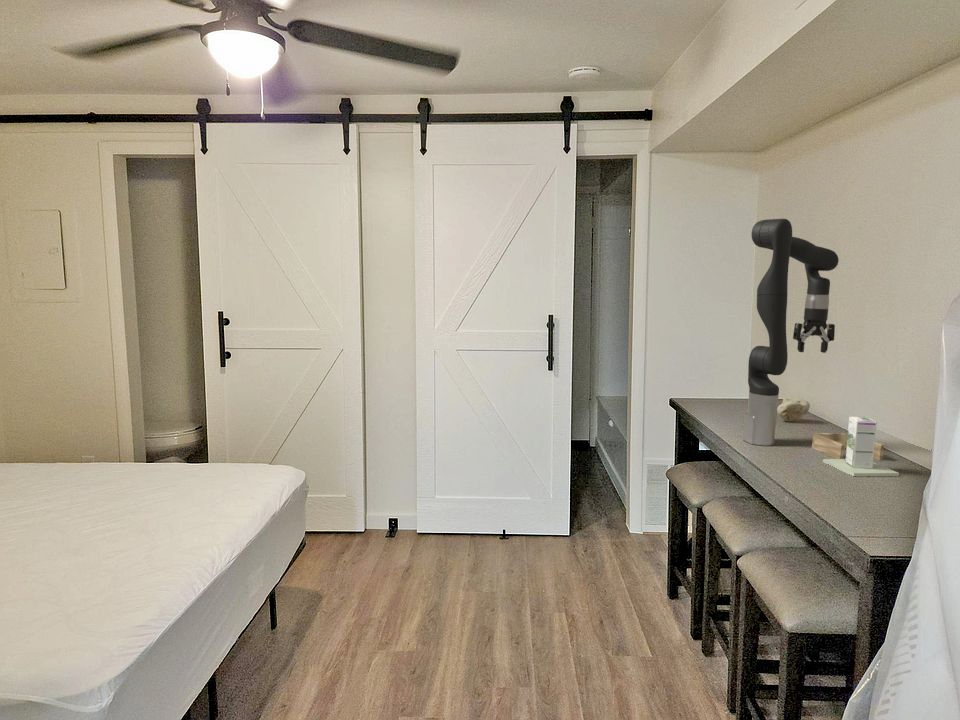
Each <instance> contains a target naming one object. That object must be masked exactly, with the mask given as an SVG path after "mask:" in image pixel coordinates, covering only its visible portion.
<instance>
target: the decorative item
mask: <svg viewBox="0 0 960 720" xmlns="http://www.w3.org/2000/svg"><path fill="white" fill-rule="evenodd" d="M810 407H811V405H810V402H809V401H807V400H806V399H804V398H802V397H793V398H783V400H782V402H781V404H778V406H777V415H778V416H779V417H781V419H782V420H784V421H785V422H788V423H792V422H795V421H797V420H801V419H802V418H803V417H804V416H805V415H807V414H809V410H810Z"/></svg>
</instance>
